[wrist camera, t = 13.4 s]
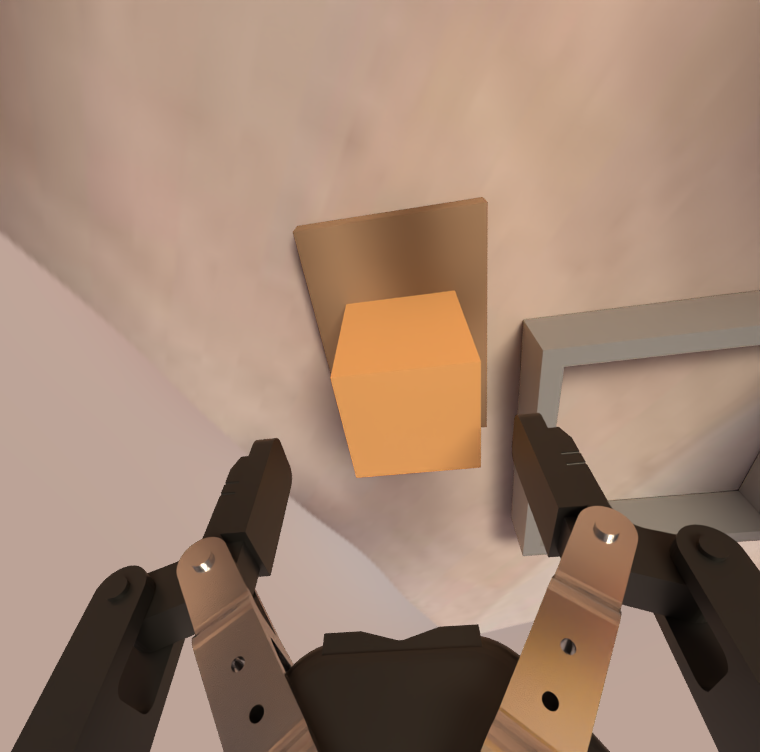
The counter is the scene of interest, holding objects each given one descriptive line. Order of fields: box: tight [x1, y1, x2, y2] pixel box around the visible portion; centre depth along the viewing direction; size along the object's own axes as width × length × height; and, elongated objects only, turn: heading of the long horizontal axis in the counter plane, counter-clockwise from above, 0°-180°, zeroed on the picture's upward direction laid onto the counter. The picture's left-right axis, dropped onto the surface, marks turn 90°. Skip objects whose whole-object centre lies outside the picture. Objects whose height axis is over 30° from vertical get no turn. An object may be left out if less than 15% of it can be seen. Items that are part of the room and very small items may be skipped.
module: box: [330, 291, 481, 478], centre depth 17 cm, size 5×5×6 cm
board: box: [293, 197, 488, 427], centre depth 20 cm, size 8×12×1 cm, turn 9°
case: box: [511, 290, 760, 556], centre depth 17 cm, size 17×16×14 cm
